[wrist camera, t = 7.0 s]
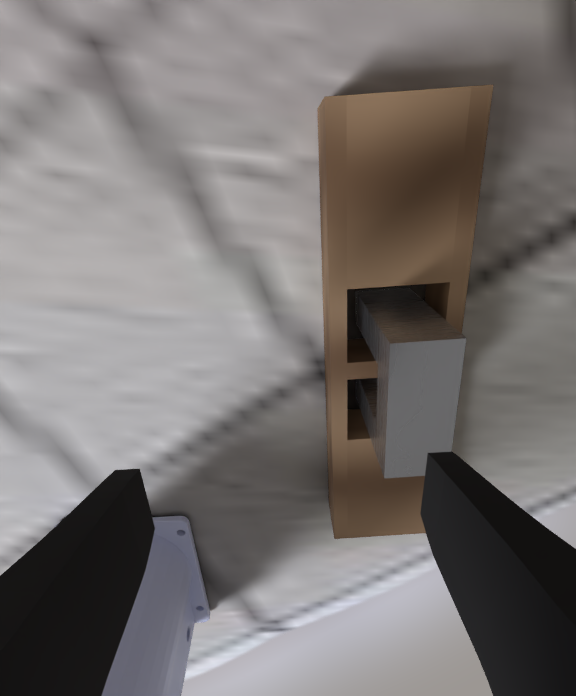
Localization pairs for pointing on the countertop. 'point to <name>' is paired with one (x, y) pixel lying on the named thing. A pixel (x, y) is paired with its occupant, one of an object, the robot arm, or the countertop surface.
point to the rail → (391, 259)
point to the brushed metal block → (408, 379)
